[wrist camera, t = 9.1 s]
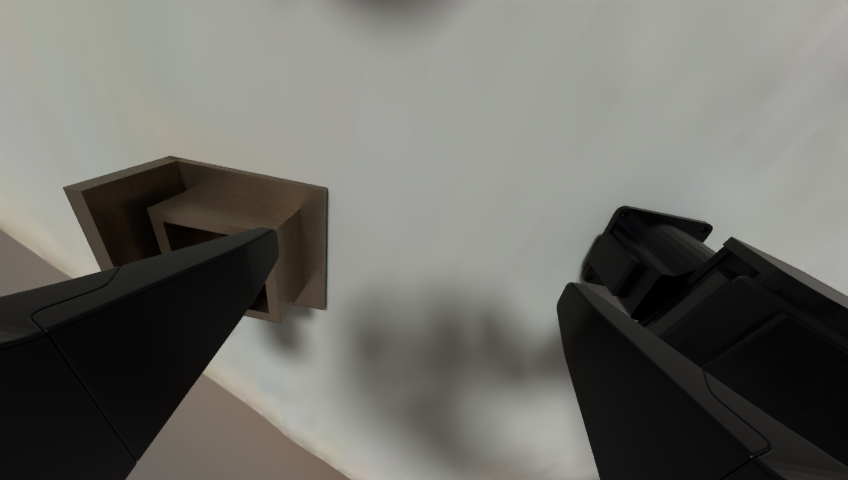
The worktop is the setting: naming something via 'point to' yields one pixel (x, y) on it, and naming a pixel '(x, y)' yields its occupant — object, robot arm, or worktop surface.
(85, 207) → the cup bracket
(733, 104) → the worktop surface
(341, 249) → the worktop surface
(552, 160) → the worktop surface
